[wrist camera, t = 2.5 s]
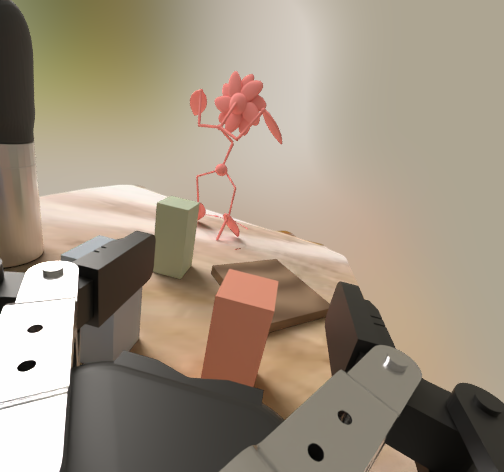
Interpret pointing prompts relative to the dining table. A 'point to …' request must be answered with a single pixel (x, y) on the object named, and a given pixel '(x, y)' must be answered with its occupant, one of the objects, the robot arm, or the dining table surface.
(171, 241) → the olive block
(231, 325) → the red block
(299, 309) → the walnut board
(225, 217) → the figurine
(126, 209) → the dining table surface
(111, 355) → the blue grey block
